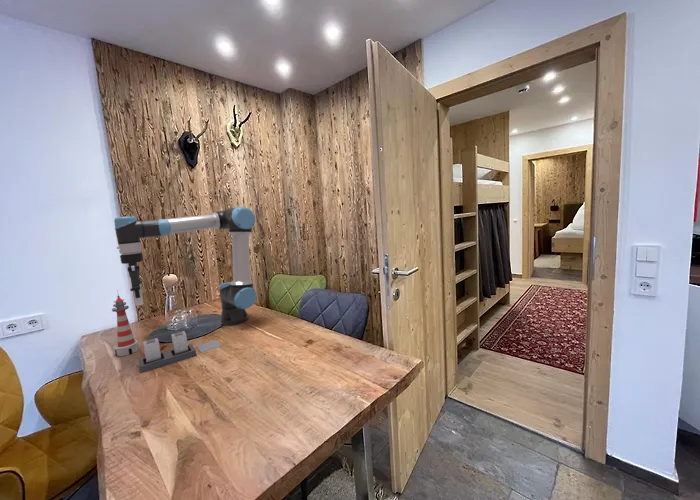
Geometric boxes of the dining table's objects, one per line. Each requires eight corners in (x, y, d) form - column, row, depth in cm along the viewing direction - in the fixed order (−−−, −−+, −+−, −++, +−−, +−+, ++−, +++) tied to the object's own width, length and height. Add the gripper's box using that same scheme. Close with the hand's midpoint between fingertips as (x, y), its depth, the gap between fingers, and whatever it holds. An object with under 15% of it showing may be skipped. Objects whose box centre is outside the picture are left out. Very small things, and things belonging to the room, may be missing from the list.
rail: (192, 349, 134) (191, 343, 133) (196, 356, 127) (195, 350, 126) (139, 365, 122) (138, 359, 121) (140, 374, 114) (139, 367, 114)
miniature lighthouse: (118, 358, 130) (106, 293, 126) (112, 354, 135) (101, 291, 132) (142, 350, 137) (132, 288, 133) (135, 346, 143) (125, 286, 139)
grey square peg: (187, 352, 130) (184, 330, 129) (189, 355, 127) (186, 333, 125) (174, 356, 127) (171, 333, 126) (176, 360, 124) (172, 336, 122)
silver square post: (161, 360, 124) (157, 337, 123) (162, 364, 121) (158, 340, 119) (146, 364, 121) (143, 340, 120) (147, 368, 118) (143, 344, 116)
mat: (217, 341, 142) (217, 339, 142) (222, 346, 135) (221, 345, 135) (196, 347, 136) (196, 345, 136) (200, 353, 129) (200, 352, 129)
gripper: (121, 252, 131) (129, 298, 133) (118, 256, 111) (127, 310, 113) (141, 250, 135) (148, 294, 138) (142, 254, 115) (150, 305, 118)
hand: (139, 301), depth 126 cm, fingers open, 13 cm apart
